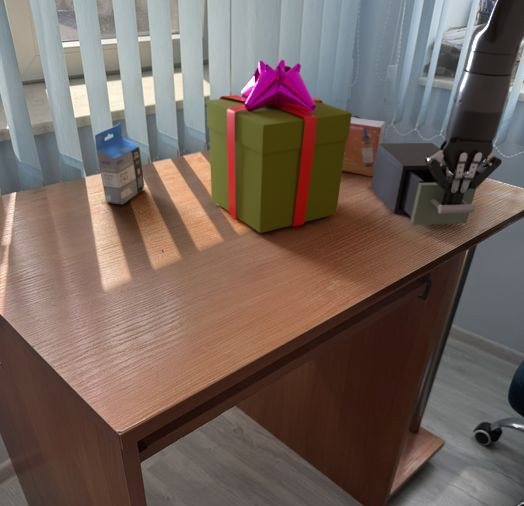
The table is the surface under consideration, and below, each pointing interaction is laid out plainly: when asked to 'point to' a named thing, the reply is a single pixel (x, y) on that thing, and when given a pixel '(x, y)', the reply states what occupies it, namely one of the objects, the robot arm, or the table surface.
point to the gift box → (276, 151)
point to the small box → (362, 145)
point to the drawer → (432, 200)
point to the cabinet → (398, 169)
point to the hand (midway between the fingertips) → (449, 211)
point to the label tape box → (119, 166)
